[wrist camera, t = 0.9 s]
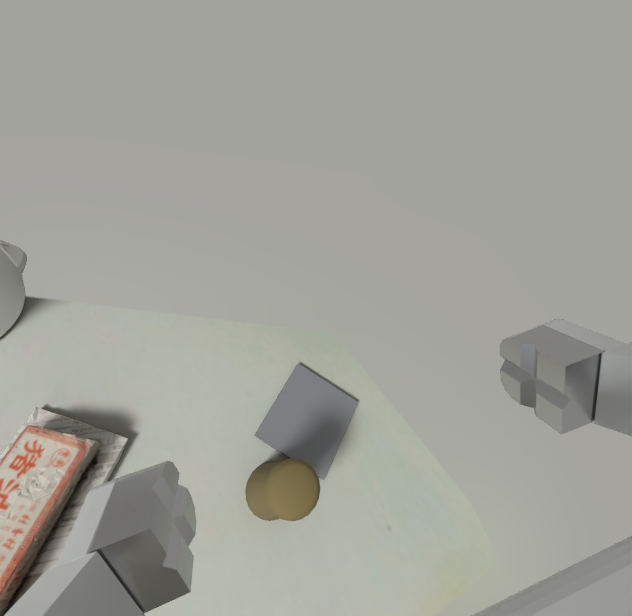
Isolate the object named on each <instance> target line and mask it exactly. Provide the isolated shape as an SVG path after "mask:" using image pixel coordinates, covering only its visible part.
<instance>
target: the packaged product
mask: <svg viewBox="0 0 632 616" xmlns="http://www.w3.org/2000/svg"><path fill="white" fill-rule="evenodd" d="M127 441H128V438H126V437H123V436H121V435H118V434H115V433H112V432H109V431H106V430H103V429H100V428H97V427H94V426H91V425H89V424H86V423H84V422H81V421H78V420H75V419H72V418H69V417H66V416H63V415H60V414H56V413H53V412H50V411H46V410H43V409H40V408H37V407H36V408H35V410H34V411H33V413H32V414H31V416H30V417H29V418H28V420H27V421H26V422H25V423H24V424H23V425H22V427H21V428H20V429H19V431H18V432H17V434H16V435H15V436H14V438H13V439H12V441H11V443H10V444H9V445H8V447H7V448H6V449H5V451H4V452H3V453H2V455H1V456H0V616H4V615H5V614H6V613H7V612H8V611H9V610H10V609H11V607H12V606H13V605H14V604H15V603H16V602H17V601H18V600H19V599H20V598H21V597H22V596H23V595H24V594H25V593H26V591H27V590H28V589H29V588H30V587H31V586H32V585H33V584H34V583H35V582H36V581H37V580H38V579H39V578H40V576H41V575H42V574H43V573H44V572H45V571H47V570H49V569H52V568H54V567H55V566H56V564H57V562H58V560H59V557H60V555H61V553H62V551H63V548H64V546H65V544H66V542H67V539H68V537H69V535H70V533H71V531H72V528H73V526H74V524H75V522H76V519H77V517H78V515H79V513H80V511H81V508H82V506H83V504H84V502H85V499H86V497H87V495H88V493H89V491H90V490H92V489H93V488H94V487H95V486H97V485H100V484H103V483H106V482H107V481H108V479H109V477H110V475H111V474H112V472H113V470H114V468H115V466H116V464H117V463H118V461H119V459H120V457H121V455H122V453H123V450H124V448H125V446H126V444H127Z"/></svg>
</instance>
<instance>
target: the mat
mask: <svg viewBox="0 0 632 616" xmlns="http://www.w3.org/2000/svg"><path fill="white" fill-rule="evenodd" d="M357 404H358V402H357V401H356V400H354V399H353V398H351V397H350V396H348V395H347V394H345V393H343V392H342V391H340V390H339V389H337V388H336V387H334V386H333V385H331V384H330V383H328V382H326V381H325V380H323V379H322V378H320V377H319V376H317V375H316V374H314V373H313V372H311V371H310V370H308V369H306V368H305V367H303V366H302V365H300V364H299V363H298V364H297V366H296V367H295V369H294V371H293V372H292V374H291V376H290V377H289V379H288V381H287V382H286V384H285V386H284V387H283V389H282V391H281V392H280V394H279V396H278V397H277V399H276V401H275V402H274V404H273V406H272V407H271V409H270V411H269V412H268V414H267V416H266V417H265V419H264V421H263V422H262V424H261V426H260V427H259V429H258V431H257V432H256V434H255V436H256V437H257V438H259V439H260V440H262V441H264V442H265V443H267V444H268V445H270V446H271V447H273V448H274V449H276V450H278V451H279V452H281V453H282V454H284V455H285V456H287V457H288V458H297V459H302V460H303V461H305V462H307V463H308V464H310V465H311V467H312V468H313V469H314V470H315V471H316V474H317V476H318V477H320V478H321V479H325V477H326V474H327V472H328V470H329V468H330V465H331V463H332V461H333V458H334V456H335V454H336V452H337V449H338V447H339V445H340V443H341V440H342V438H343V436H344V433H345V431H346V429H347V427H348V424H349V422H350V420H351V418H352V415H353V413H354V411H355V408H356V406H357Z"/></svg>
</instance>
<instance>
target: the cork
mask: <svg viewBox="0 0 632 616" xmlns="http://www.w3.org/2000/svg"><path fill="white" fill-rule="evenodd" d="M319 493H320V484H319V478H318V476H317V474H316V471H315V470H314V469H313V468H312V467H311V465H310V464H308V463H307V462H305V461H303V460H302V459H297V458H290V459H285V460H283V461H281V462H279V463H277V462H268V463H264V464H262V465H260V466H259V467H257V468H256V469H255V470H254V471H253V472H252V474H251V476H250V478H249V479H248V482H247V486H246V500H247V503H248V506H249V508H250V510H251V511H252V512H253V513H254V515H256V516H257V517H259V518H261V519H263V520H269V521H271V520H276V519H279V518H281V519H283V520H288V521H296V520H300V519H302V518H304V517H305V516H307V515H309V513H310V512H311V511H312V510H313V509H314V507H315V506H316V504H317V501H318V499H319Z"/></svg>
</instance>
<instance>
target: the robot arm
mask: <svg viewBox="0 0 632 616" xmlns="http://www.w3.org/2000/svg"><path fill="white" fill-rule="evenodd" d="M26 261H27V256H26V254H25V253H24V252H23V251H22V250H21V249H20V248H18V247H16V246H14V245H11V244H9V243H6V242H4V241H2V240H0V337H1V336H2V335H4V334H5V333H6V332H7V331H8V330H9V329H10V328H11V327H12V325H13V324H14V323H15V321H16V320H17V318H18V317H19V315H20V313H21V311H22V309H23V306H24V301H25V288H24V284H23V280H22V272H23V270H24V267H25V264H26ZM500 355H501V356H502V357H503V358H504V359H505V361H504V363H503V365H502V367H501V369H500V373H501V382H502V384H503V386H504V388H505V390H506V392H507V393H508V394H509V395H510V396H511V398H512V399H514V400H515V401H516V402H518V403H519V404H521V405H524V406H528V407H532V408H534V411H535V414H536V416H537V417H538V418H540V419H541V420H542V421H544V422H545V423H547V424H548V425H549V426H551V427H552V428H553V429H555V430H556V431H558V432H559V433H560V434H563V433H566V432H568V431H571V430H573V429H576V428H579V427H581V426H584V425H586V424H589V423H592V422H594V424H597V425H600V426H603V427H606V428H609V429H612V430H615V431H618V432H621V433H623V434H627V435H629V436H632V342H630V343H627V344H626V343H624V342H621V341H618V340H616V339H613V338H611V337H608V336H605V335H603V334H600V333H598V332H595V331H592V330H590V329H587V328H584V327H582V326H579V325H577V324H574V323H571V322H569V321H566V320H563V319H554V320H551V321H549V322H546V323H544V324H541V325H539V326H537V327H535V328H532V329H530V330H527V331H524V332H522V333H519V334H516V335H513V336H511V337H508V338H506V339H503V340H502V342H501V344H500ZM178 479H179V472H178V471H177V469H176V467H175V465H174V464H173V462H170V461H166V462H163V463H160V464H157V465H155V466H152V467H149V468H146V469H143V470H140V471H137V472H134V473H131V474H128V475H125V476H122V477H120V478H117V479H114V480H111V481H108V482H106V483H103V484H100V485H97V486H95V487H94V488H93V489H92V490H90V491H89V493H88V495H87V497H86V499H85V502H84V504H83V506H82V508H81V511H80V513H79V515H78V517H77V519H76V522H75V524H74V526H73V528H72V531H71V533H70V535H69V537H68V539H67V542H66V544H65V546H64V548H63V551H62V553H61V555H60V557H59V560H58V562H57V564H56V566H55V567H54V568H52V569H49V570H47V571H45V572H44V573H43V574H42V575H41V576H40V578H39V579H38V580H37V581H36V582H35V583H34V584H33V585H32V586H31V587H30V588H29V589H28V590H27V591H26V593H25V594H24V595H23V596H22V597H21V598H20V599H19V600H18V601H17V602H16V603H15V604H14V605H13V606H12V607H11V609H10V610H9V611H8V612H7V613H6V614H5V615H4V616H145V615H144V613H146V612H148V611H150V610H152V609H154V608H157V607H159V606H161V605H163V604H165V603H168V602H170V601H172V600H174V599H176V598H178V597H181V596H183V595H185V594H187V593H189V592H191V580H192V569H193V557H194V556H193V554H192V553H191V551H190V549H189V547H188V546H189V544H190V543H191V541H192V539H193V538H194V536H195V532H196V516H195V507H194V504H193V501H192V498H191V495H190V493H189V491H188V489H187V488H185V487H183V486H180V485H178ZM472 616H632V536H630V537H628V538H627V539H625V540H622V541H621V542H618V543H616V544H614V545H612V546H610V547H609V548H606V549H604V550H602V551H600V552H598V553H596V554H594V555H592V556H591V557H589V558H586V559H584V560H583V561H580V562H578V563H576V564H574V565H572V566H570V567H568V568H566V569H564V570H562V571H560V572H558V573H556V574H554V575H552V576H550V577H548V578H546V579H544V580H542V581H540V582H538V583H536V584H534V585H532V586H530V587H528V588H526V589H524V590H522V591H520V592H518V593H516V594H514V595H512V596H510V597H508V598H506V599H504V600H502V601H500V602H498V603H496V604H494V605H492V606H490V607H488V608H486V609H484V610H482V611H480V612H478V613H476V614H474V615H472Z"/></svg>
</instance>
